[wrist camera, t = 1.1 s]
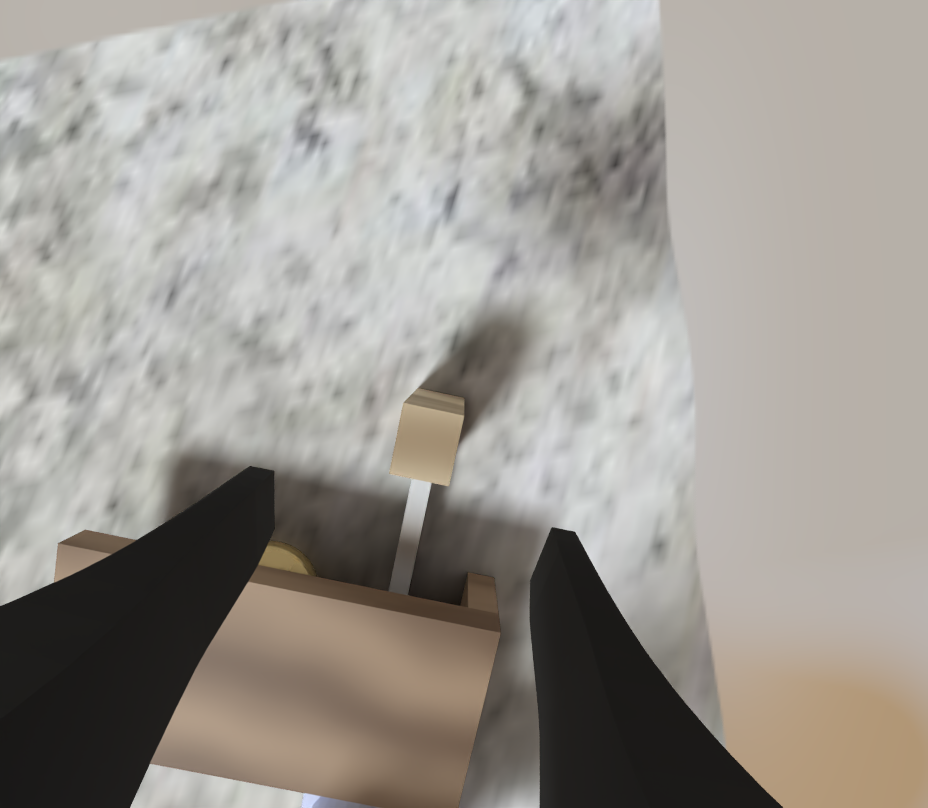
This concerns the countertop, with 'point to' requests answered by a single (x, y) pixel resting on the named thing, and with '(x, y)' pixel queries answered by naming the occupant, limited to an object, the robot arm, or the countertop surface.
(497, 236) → the countertop surface
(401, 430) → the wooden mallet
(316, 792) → the low wooden bench
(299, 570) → the brass disc
